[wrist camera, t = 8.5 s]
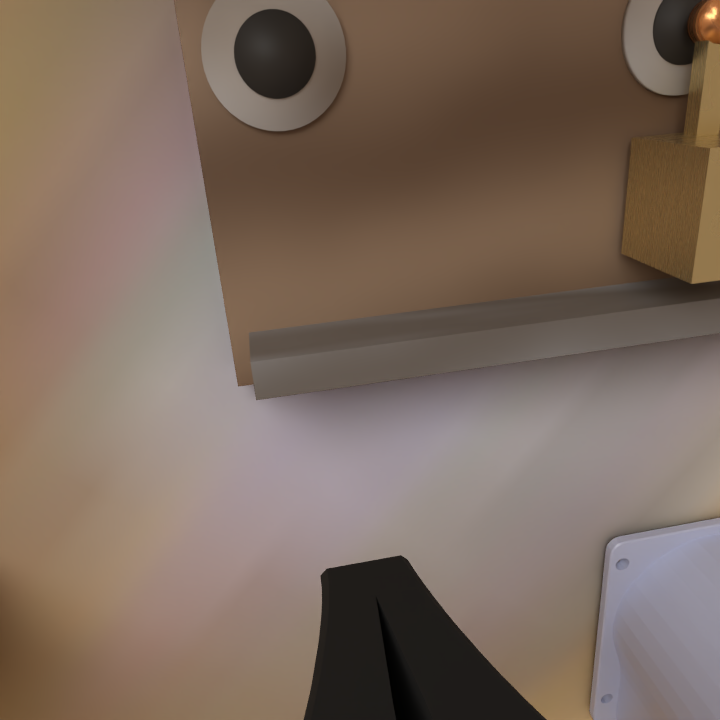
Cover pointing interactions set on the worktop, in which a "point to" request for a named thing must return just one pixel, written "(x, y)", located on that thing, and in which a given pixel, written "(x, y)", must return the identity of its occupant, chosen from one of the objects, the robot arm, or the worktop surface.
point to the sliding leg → (682, 173)
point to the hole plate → (432, 181)
